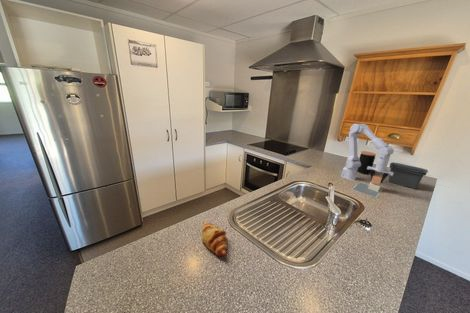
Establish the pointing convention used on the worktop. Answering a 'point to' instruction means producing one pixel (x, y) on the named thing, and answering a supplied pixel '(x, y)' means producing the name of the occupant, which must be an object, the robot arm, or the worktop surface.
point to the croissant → (214, 239)
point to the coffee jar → (366, 162)
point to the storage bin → (406, 175)
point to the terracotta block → (376, 179)
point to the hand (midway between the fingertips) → (376, 181)
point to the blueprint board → (368, 189)
